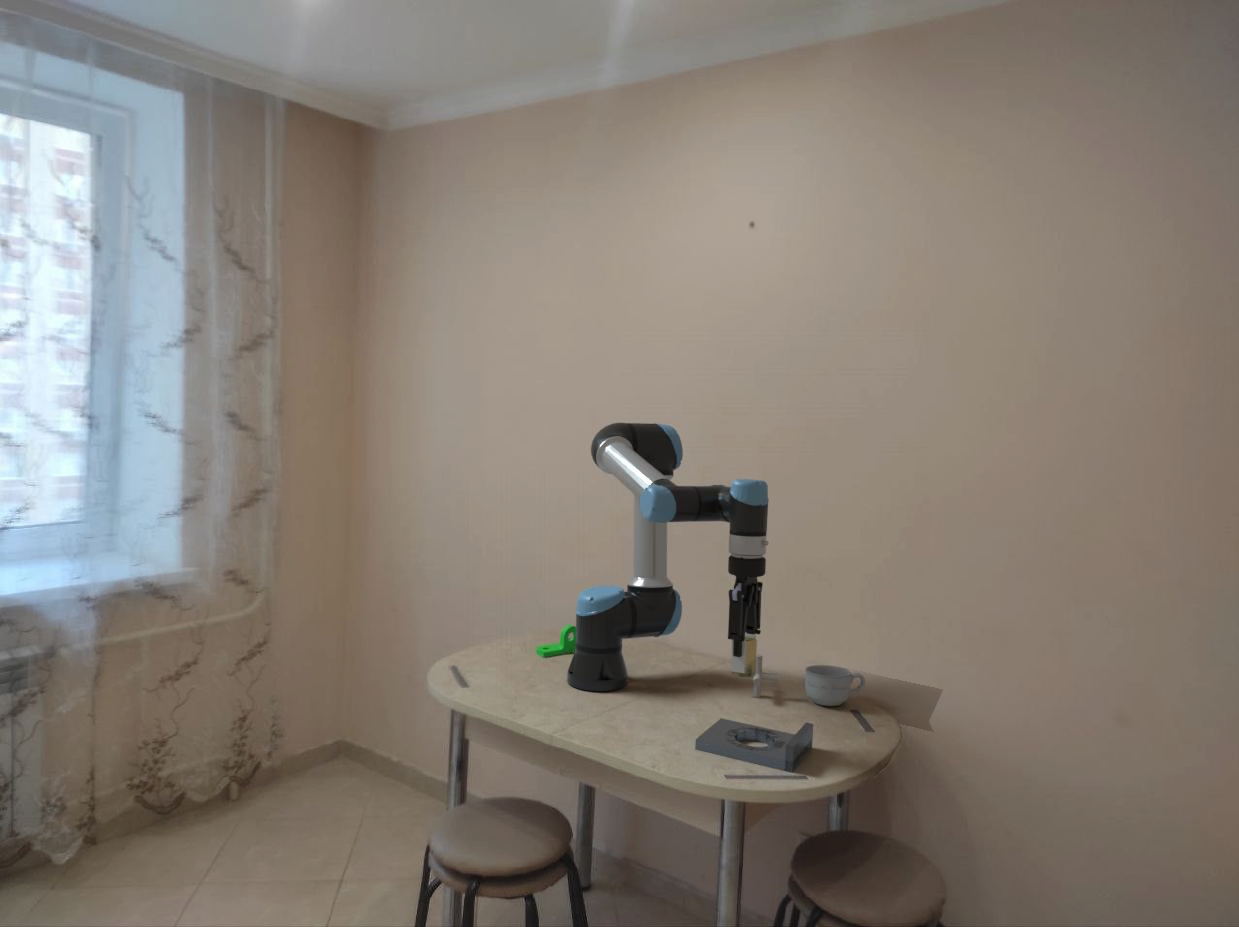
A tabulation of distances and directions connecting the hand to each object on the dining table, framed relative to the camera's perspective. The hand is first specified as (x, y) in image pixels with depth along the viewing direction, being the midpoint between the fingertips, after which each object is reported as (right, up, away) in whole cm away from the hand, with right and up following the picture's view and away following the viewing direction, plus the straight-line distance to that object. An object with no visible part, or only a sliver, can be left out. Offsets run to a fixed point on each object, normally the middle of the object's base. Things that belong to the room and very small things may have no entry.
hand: (743, 668), depth 170 cm
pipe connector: (+8, -15, +31) cm, 35 cm away
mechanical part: (-43, -11, +61) cm, 75 cm away
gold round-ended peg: (0, -1, 0) cm, 1 cm away
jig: (+2, -16, -1) cm, 16 cm away
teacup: (+26, -15, +28) cm, 41 cm away
